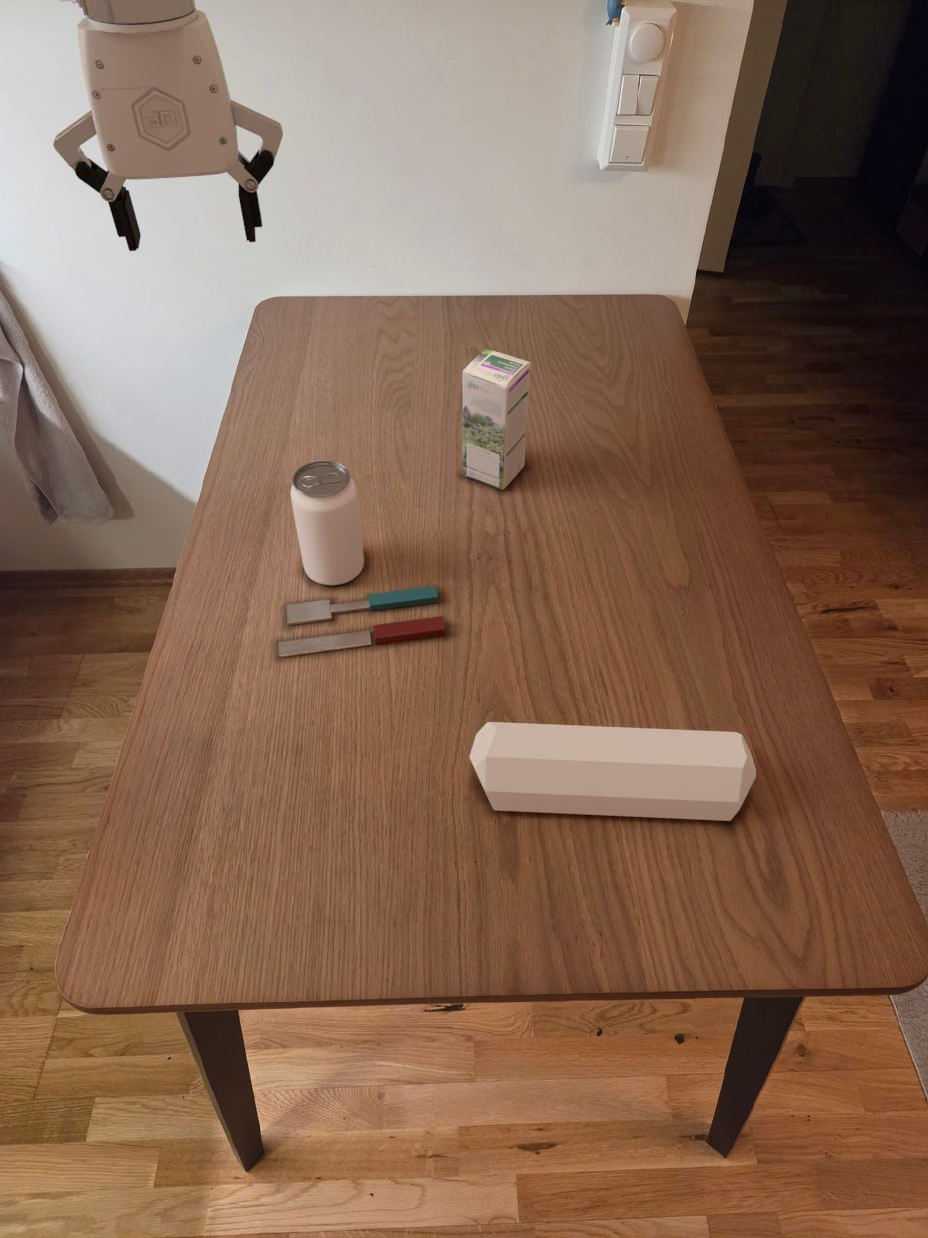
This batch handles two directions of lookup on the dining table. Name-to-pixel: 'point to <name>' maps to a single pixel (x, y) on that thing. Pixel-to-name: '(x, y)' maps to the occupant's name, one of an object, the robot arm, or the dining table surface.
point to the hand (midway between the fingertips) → (193, 239)
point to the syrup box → (495, 417)
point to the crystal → (613, 770)
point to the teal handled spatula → (359, 605)
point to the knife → (366, 637)
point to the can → (327, 522)
